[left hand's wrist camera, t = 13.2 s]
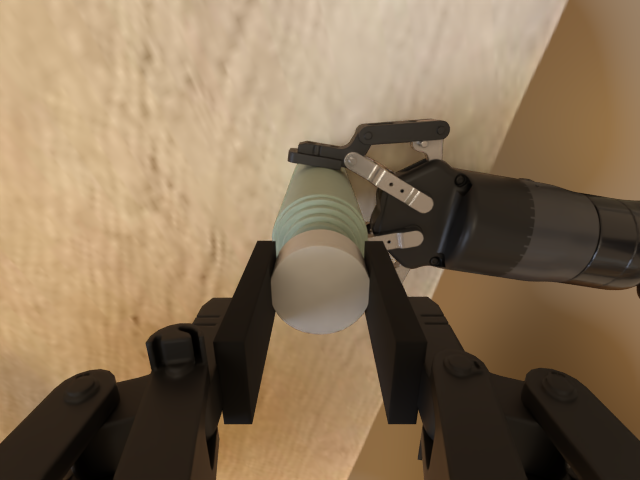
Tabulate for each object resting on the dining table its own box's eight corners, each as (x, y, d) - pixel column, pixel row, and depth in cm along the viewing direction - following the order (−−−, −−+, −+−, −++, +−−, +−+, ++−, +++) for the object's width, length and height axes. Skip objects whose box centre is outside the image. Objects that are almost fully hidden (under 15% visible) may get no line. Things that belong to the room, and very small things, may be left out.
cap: (383, 277, 15) (391, 299, 13) (313, 324, 16) (312, 350, 14) (327, 210, 14) (328, 225, 12) (255, 264, 15) (247, 285, 13)
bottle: (311, 214, 33) (301, 356, 15) (282, 170, 32) (230, 268, 13) (356, 187, 32) (405, 303, 14) (329, 140, 31) (342, 201, 12)
